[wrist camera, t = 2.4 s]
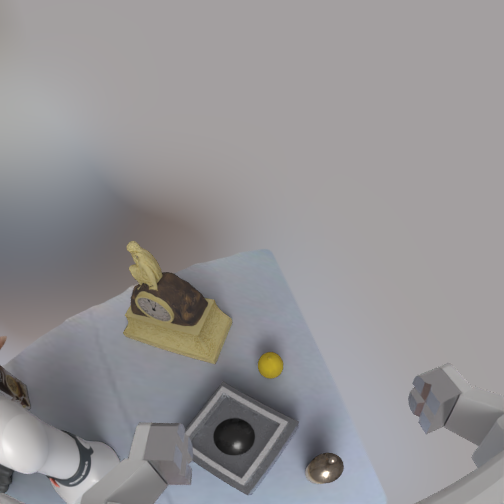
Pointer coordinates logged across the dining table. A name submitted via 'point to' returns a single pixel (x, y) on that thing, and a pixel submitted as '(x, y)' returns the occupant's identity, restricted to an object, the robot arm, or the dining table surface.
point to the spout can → (324, 468)
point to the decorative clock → (173, 312)
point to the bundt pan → (5, 478)
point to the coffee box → (13, 389)
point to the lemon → (270, 365)
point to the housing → (239, 438)
